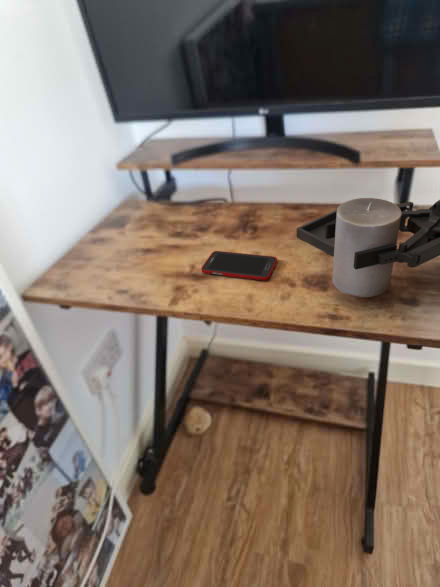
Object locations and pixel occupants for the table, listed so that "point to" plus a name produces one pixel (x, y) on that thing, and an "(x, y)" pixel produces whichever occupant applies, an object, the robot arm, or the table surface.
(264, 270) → the cell phone
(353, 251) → the pillar candle
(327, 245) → the candle pad
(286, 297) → the table surface
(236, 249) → the table surface
